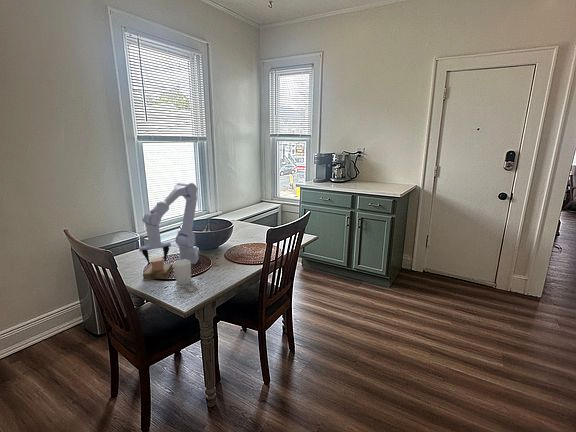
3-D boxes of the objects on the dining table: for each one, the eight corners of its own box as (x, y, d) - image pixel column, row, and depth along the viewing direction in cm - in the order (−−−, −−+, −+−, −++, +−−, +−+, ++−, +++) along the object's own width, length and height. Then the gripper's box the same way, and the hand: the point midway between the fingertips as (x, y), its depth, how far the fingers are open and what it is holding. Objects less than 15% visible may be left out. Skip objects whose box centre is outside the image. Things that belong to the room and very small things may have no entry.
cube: (162, 265, 164) (161, 256, 162) (163, 269, 159) (162, 260, 158) (152, 267, 161) (151, 258, 160) (153, 271, 157) (151, 262, 156)
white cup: (182, 287, 147) (180, 267, 145) (171, 283, 151) (169, 263, 149) (195, 280, 154) (194, 261, 151) (184, 276, 158) (182, 258, 155)
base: (172, 269, 167) (172, 263, 166) (166, 278, 156) (165, 272, 155) (151, 270, 166) (150, 264, 165) (143, 279, 155) (142, 273, 155)
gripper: (168, 232, 163) (171, 256, 166) (137, 236, 156) (140, 262, 160) (170, 235, 157) (173, 261, 160) (138, 240, 150) (141, 267, 154)
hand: (157, 262), depth 159 cm, fingers open, 7 cm apart
